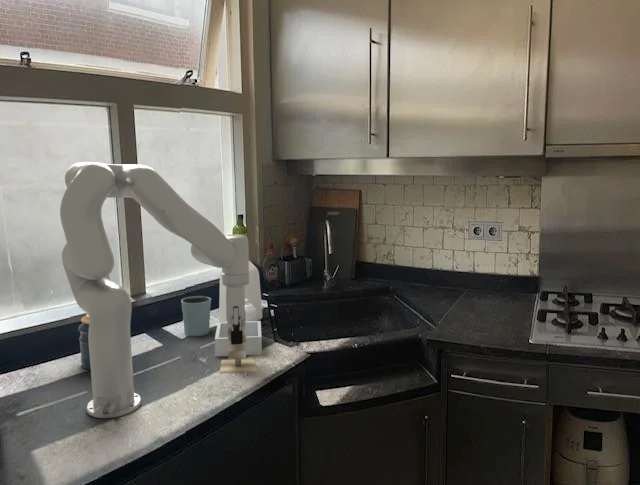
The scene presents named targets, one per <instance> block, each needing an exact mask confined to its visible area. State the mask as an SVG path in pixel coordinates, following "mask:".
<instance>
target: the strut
mask: <svg viewBox="0 0 640 485" xmlns="http://www.w3.org/2000/svg"><path fill="white" fill-rule="evenodd" d="M238 312H239V311H238ZM238 319H240V317H238ZM233 320H234V318H233ZM233 323H234V322H233ZM238 323H239V322H238ZM227 325H228V356H227V357H228V359H227V360H233V359H247V355H246V312H245V310H244V319H243V320H241V330H242V335H243V343H242V344H231V330H232V328H231V320H229V321H227ZM239 330H240V329H239Z"/></svg>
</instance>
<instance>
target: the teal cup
mask: <svg viewBox="0 0 640 485" xmlns="http://www.w3.org/2000/svg"><path fill="white" fill-rule="evenodd" d="M180 301H181V302H180V303H181V311H182V321H183V328H184V334H185V336H188V337H202V336H206V335H208V334H209V333H210V329H211V328H210V324H211V323H210V322H211V321H210V320H211V307H212V306H211V304H212V298H211V297H209V296H205V295H204V296H203V295H195V296H194V295H193V296H187V297H186V296H185V297H184V298H182V299H181V300H180Z"/></svg>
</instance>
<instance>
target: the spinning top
mask: <svg viewBox="0 0 640 485" xmlns="http://www.w3.org/2000/svg"><path fill="white" fill-rule="evenodd" d="M245 312H246V321H254V320H255V318H256V315H257V311H256V308H255V307H254V306H253V305H252V304H249V303H248V300H247V299H245Z"/></svg>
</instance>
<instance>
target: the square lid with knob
mask: <svg viewBox="0 0 640 485" xmlns="http://www.w3.org/2000/svg"><path fill="white" fill-rule="evenodd" d="M256 368H257V366H256V357H254V358H253V357H252V358H250V357H249V358H246V359H233V360H228V359H221V361H220V368H219V374H233V373H235V374H236V373H237V374H238V373H251V372H252V373H253V372H254V373H256V371H257V370H256Z"/></svg>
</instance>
